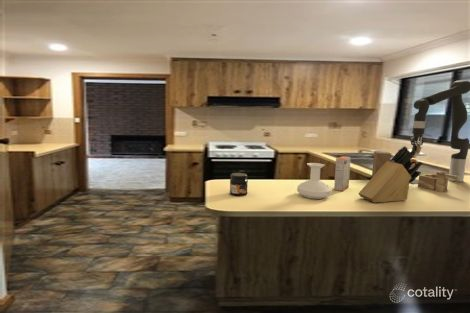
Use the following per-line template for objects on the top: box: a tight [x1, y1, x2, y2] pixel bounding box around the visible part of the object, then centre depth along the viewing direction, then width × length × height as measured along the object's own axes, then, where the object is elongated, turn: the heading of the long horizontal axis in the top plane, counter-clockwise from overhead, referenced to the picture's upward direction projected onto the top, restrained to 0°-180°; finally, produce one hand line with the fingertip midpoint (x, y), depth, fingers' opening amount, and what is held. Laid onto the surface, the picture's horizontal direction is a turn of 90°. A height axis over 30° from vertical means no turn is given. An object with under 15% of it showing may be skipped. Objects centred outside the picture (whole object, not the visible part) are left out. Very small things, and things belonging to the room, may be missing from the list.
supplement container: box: [229, 172, 248, 197], centre depth 183 cm, size 10×10×12 cm
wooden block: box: [371, 150, 392, 177], centre depth 239 cm, size 10×10×20 cm
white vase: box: [296, 162, 333, 200], centre depth 182 cm, size 20×20×19 cm
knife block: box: [358, 146, 424, 204], centre depth 179 cm, size 11×35×31 cm, turn 108°
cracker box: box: [333, 155, 352, 192], centre depth 201 cm, size 14×6×21 cm, turn 145°
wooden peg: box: [436, 171, 459, 180], centre depth 200 cm, size 3×12×3 cm, turn 23°
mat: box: [410, 178, 419, 185], centre depth 231 cm, size 16×13×1 cm
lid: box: [397, 146, 427, 157], centre depth 226 cm, size 15×11×7 cm
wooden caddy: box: [417, 171, 449, 193], centre depth 210 cm, size 14×16×12 cm
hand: (416, 150), depth 227 cm, fingers closed on lid, 2 cm apart
